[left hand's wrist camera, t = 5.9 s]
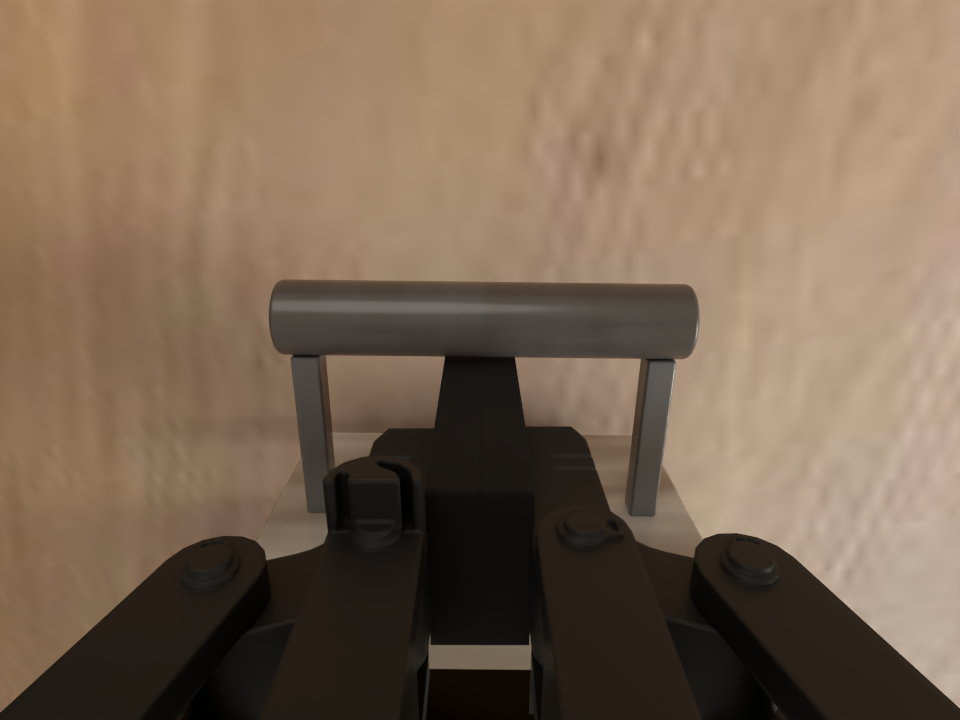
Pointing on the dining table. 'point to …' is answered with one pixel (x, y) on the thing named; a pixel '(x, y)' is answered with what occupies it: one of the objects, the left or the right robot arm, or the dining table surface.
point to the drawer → (485, 333)
